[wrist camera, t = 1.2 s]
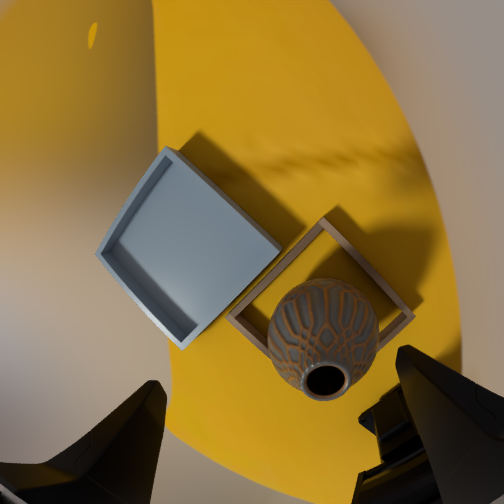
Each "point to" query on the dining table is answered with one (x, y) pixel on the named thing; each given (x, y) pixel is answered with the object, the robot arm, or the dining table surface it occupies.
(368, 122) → the dining table surface
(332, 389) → the vase
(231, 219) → the slate tray
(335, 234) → the walnut frame
